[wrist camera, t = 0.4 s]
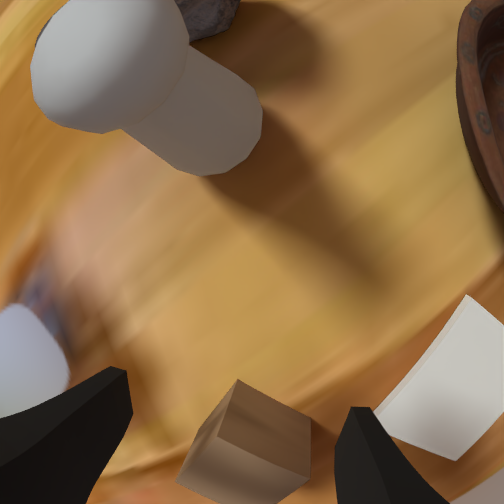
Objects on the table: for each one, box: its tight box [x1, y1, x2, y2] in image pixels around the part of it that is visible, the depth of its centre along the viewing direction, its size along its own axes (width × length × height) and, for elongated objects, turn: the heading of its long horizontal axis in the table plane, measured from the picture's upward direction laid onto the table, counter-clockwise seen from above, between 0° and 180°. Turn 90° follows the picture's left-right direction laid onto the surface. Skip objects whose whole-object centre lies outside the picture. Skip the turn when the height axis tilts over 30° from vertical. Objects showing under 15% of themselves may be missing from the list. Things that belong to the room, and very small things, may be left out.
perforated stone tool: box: [35, 0, 240, 48], centre depth 14 cm, size 15×5×7 cm, turn 94°
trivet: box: [373, 294, 504, 461], centre depth 18 cm, size 11×11×1 cm
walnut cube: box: [175, 379, 311, 504], centre depth 18 cm, size 6×6×6 cm
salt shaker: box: [30, 0, 263, 176], centre depth 11 cm, size 6×6×13 cm
